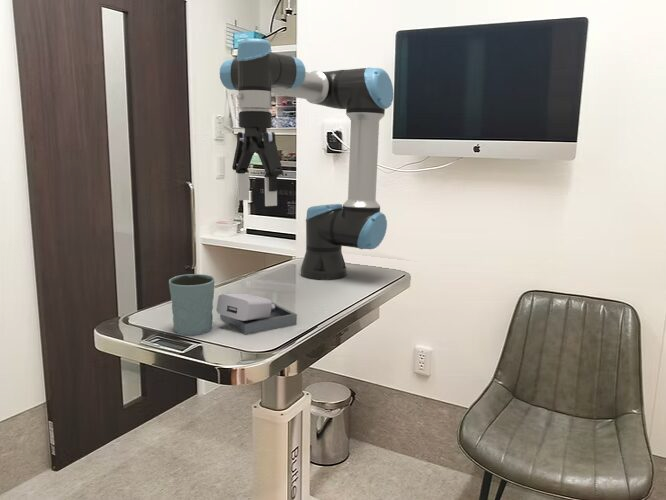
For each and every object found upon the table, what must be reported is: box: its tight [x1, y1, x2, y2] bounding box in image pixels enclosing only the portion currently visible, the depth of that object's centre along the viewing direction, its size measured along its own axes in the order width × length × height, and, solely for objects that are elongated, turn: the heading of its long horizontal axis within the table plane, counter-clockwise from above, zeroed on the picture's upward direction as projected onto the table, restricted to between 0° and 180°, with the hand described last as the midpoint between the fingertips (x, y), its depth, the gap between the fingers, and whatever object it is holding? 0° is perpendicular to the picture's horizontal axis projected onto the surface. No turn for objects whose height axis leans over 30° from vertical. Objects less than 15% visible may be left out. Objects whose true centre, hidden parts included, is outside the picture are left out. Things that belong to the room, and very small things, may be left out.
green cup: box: [168, 273, 215, 336], centre depth 127 cm, size 10×10×12 cm
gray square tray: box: [219, 301, 298, 336], centre depth 134 cm, size 14×14×2 cm
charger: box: [216, 293, 275, 321], centre depth 133 cm, size 5×9×15 cm
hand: (256, 202), depth 131 cm, fingers open, 13 cm apart
